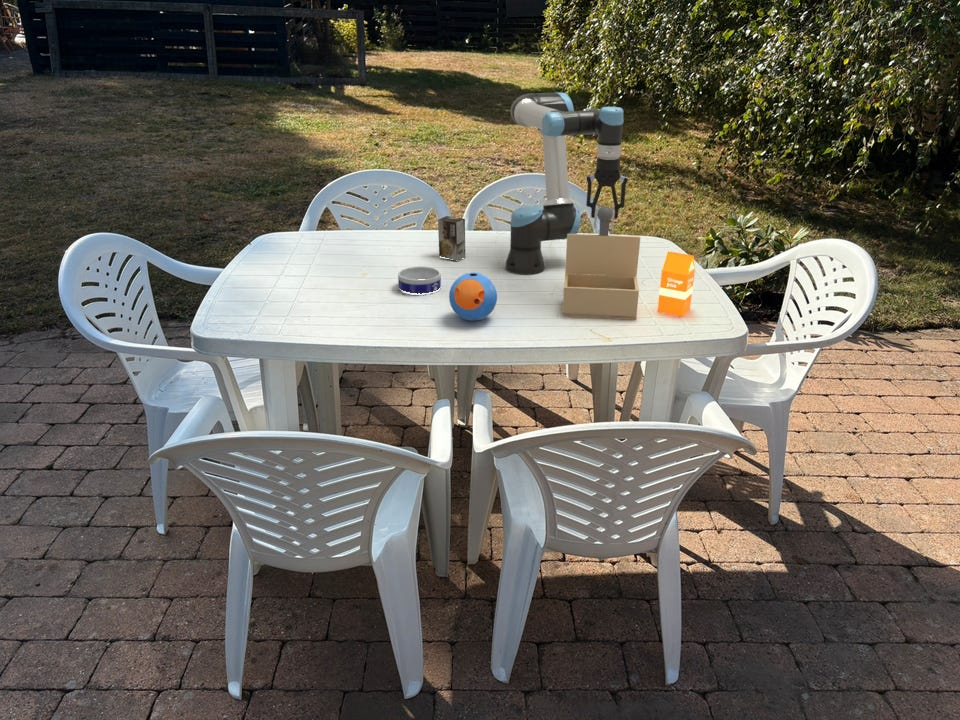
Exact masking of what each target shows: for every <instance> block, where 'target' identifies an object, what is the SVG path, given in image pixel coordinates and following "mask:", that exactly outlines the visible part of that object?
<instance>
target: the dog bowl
mask: <svg viewBox="0 0 960 720" xmlns="http://www.w3.org/2000/svg"><path fill="white" fill-rule="evenodd" d="M441 275H442V273H441V271H440V270H439V269H437V268H434V267H430V266H410V267H406V268H403V269H401V270H399V271H398V273H397V279H398V280H397V282H398V289H399V288H400V289H401V290H403V291H406V292H410V293H417V294H418V293H420V294H422V293H429V292H433V291H436V290H438V289H439V288H440V287H441V286H442V285H441V283H442V281H441V280H442V276H441ZM418 279H425V280H418ZM440 289H441V288H440Z"/></svg>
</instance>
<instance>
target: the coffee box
mask: <svg viewBox="0 0 960 720" xmlns="http://www.w3.org/2000/svg"><path fill="white" fill-rule="evenodd" d="M437 227H438V229H437V230H438V231H437V233H438V256H441V257H445V258H449V259H453V260H457V261H458V260H460V259H462V258H464V259H466V218H461V217H455V216H448V215H446V216H443V217H441V218H439V219H437ZM462 260H463V259H462ZM460 261H461V260H460ZM458 262H459V261H458Z"/></svg>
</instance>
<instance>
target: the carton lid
mask: <svg viewBox="0 0 960 720" xmlns="http://www.w3.org/2000/svg"><path fill="white" fill-rule="evenodd" d="M612 216H613V212H612V208H610V207H609V206H604V205H603V206H601V207H599V209H597V219H598V221H599V230H598V231H599V233H598V234H583V233H577V234H567V239H566V248H565V249H566V251H565V252H566V253H565V269H564V271H565V273H564V274H587V275H614V276H635V277H637V275H638V267H639V266H638V264H639V255H640V246H641V236H640V235H639V236H637V235H620V236H617V235H618V234H617V235H616V234H613V235H611V234H609V231H610V220H612Z"/></svg>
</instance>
